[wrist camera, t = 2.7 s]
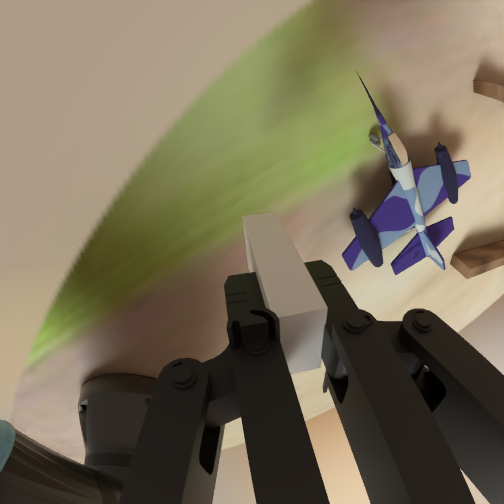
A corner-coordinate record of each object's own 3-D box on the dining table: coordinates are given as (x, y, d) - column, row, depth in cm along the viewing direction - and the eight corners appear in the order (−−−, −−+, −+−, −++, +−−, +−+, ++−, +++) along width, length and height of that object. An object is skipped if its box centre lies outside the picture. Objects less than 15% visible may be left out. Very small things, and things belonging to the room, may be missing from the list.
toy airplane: (335, 69, 16) (363, 67, 13) (462, 138, 19) (490, 149, 16) (284, 243, 22) (298, 270, 19) (413, 263, 25) (434, 284, 22)
